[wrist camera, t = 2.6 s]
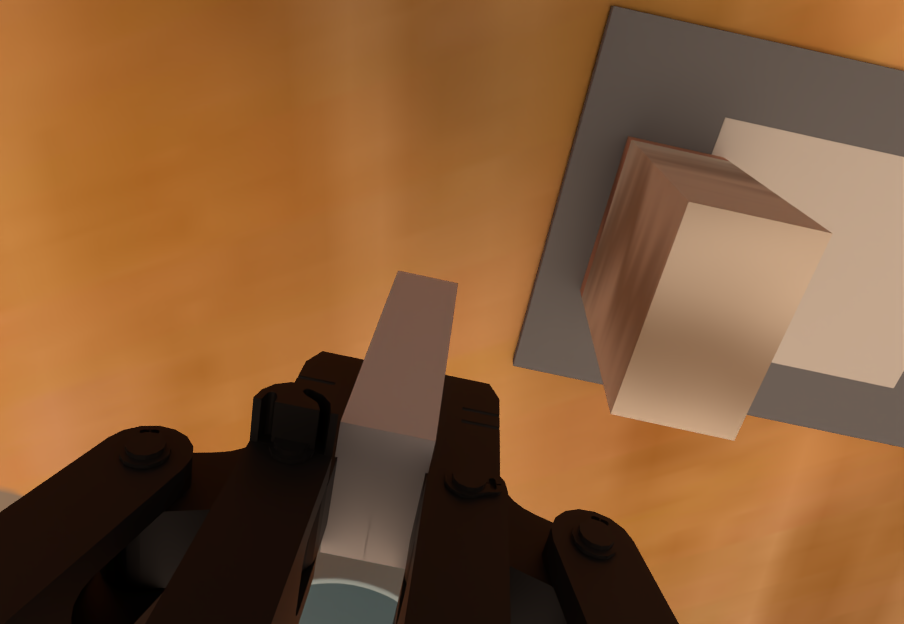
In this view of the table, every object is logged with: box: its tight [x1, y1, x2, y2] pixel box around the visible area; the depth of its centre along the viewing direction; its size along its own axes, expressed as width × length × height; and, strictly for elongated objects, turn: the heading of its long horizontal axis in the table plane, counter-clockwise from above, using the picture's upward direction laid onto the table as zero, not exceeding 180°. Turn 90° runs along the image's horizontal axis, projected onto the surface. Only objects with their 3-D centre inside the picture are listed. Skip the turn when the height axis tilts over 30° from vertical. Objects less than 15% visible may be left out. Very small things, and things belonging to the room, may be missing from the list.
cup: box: [299, 541, 405, 624], centre depth 31 cm, size 8×8×10 cm
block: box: [580, 136, 833, 441], centre depth 24 cm, size 7×4×10 cm, turn 169°
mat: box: [513, 6, 904, 448], centre depth 29 cm, size 16×20×1 cm
